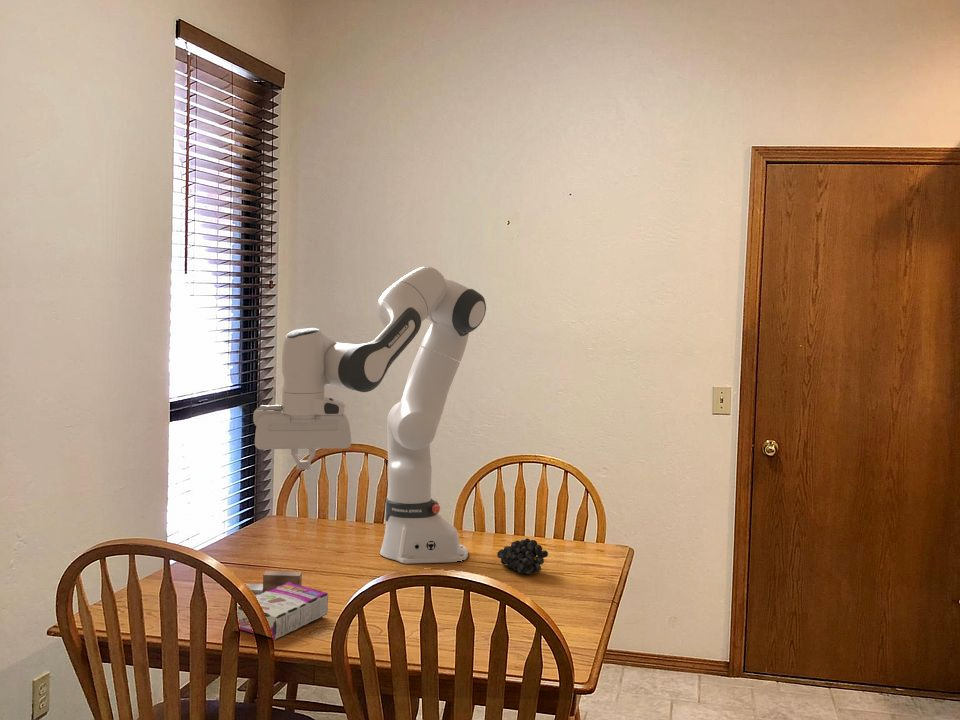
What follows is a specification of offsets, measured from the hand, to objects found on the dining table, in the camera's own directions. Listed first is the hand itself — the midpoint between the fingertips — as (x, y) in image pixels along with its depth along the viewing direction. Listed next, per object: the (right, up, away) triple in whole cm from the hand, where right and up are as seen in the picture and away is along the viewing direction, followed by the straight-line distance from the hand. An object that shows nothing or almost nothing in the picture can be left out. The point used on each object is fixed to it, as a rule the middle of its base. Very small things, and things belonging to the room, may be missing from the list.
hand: (303, 469), depth 210 cm
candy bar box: (+2, -27, -4) cm, 27 cm away
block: (-9, -28, +8) cm, 30 cm away
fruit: (+47, -29, +32) cm, 64 cm away
